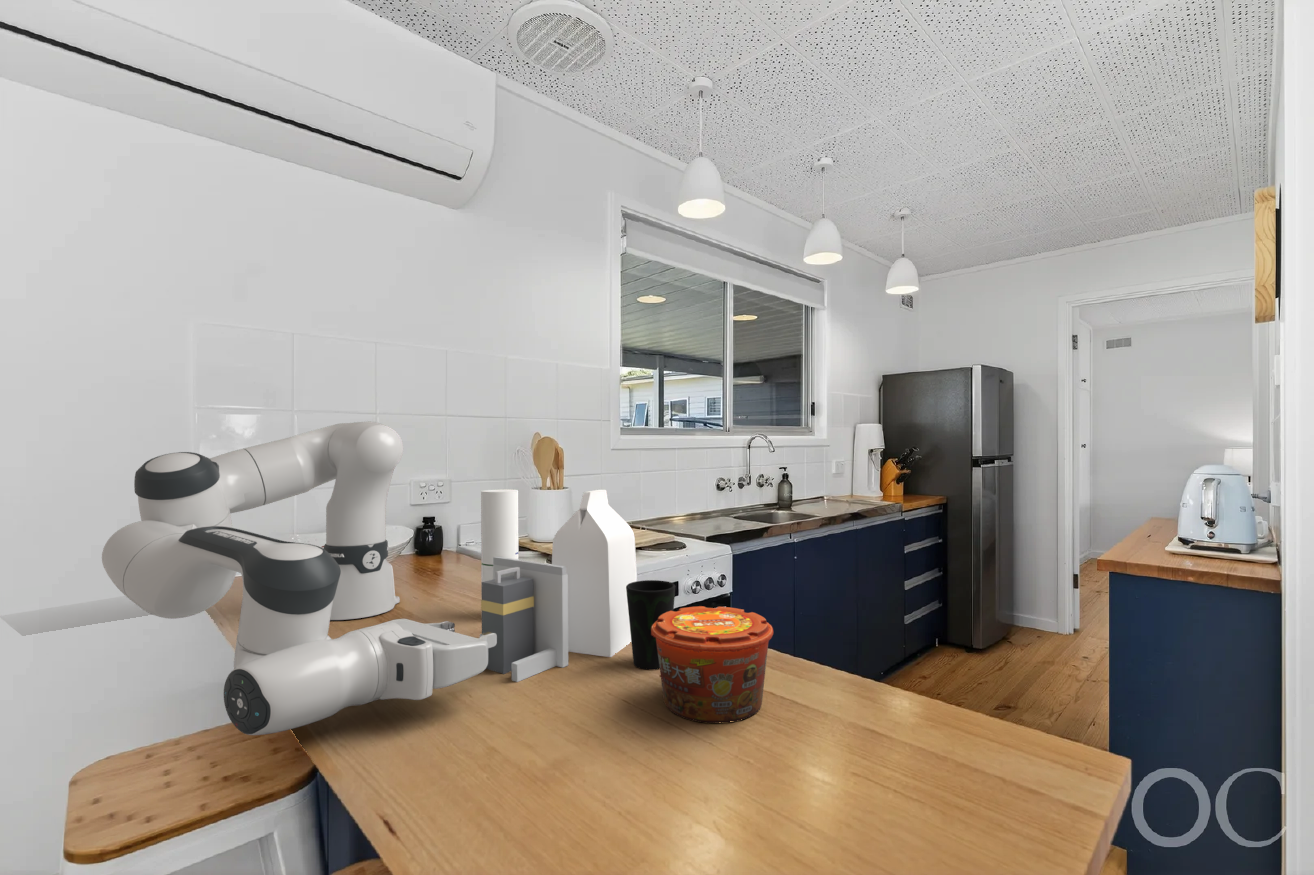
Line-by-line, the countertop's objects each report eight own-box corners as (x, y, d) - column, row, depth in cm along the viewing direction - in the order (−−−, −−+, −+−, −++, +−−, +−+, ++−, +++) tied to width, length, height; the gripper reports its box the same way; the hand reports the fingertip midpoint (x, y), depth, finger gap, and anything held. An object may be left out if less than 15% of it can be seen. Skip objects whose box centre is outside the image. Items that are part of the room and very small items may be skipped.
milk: (610, 657, 97) (609, 494, 98) (548, 648, 102) (547, 492, 102) (640, 635, 109) (639, 489, 109) (583, 628, 113) (582, 487, 113)
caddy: (481, 667, 93) (480, 571, 94) (512, 655, 98) (511, 564, 99) (503, 674, 90) (503, 574, 91) (534, 662, 95) (533, 567, 96)
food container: (687, 741, 70) (686, 647, 70) (632, 691, 84) (632, 612, 84) (800, 714, 76) (799, 628, 76) (731, 672, 91) (730, 599, 91)
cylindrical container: (523, 612, 124) (522, 489, 125) (511, 622, 117) (511, 492, 117) (489, 611, 125) (489, 489, 125) (475, 621, 118) (475, 491, 118)
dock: (454, 661, 96) (453, 564, 96) (499, 646, 103) (498, 556, 103) (523, 684, 87) (523, 576, 87) (568, 665, 94) (567, 566, 94)
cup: (652, 651, 100) (651, 577, 100) (686, 662, 95) (685, 585, 95) (616, 663, 95) (615, 585, 95) (650, 676, 89) (649, 593, 89)
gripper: (339, 668, 83) (429, 641, 94) (429, 704, 71) (519, 668, 83) (339, 621, 83) (429, 600, 95) (429, 649, 71) (519, 621, 83)
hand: (472, 632), depth 88 cm, fingers open, 8 cm apart
